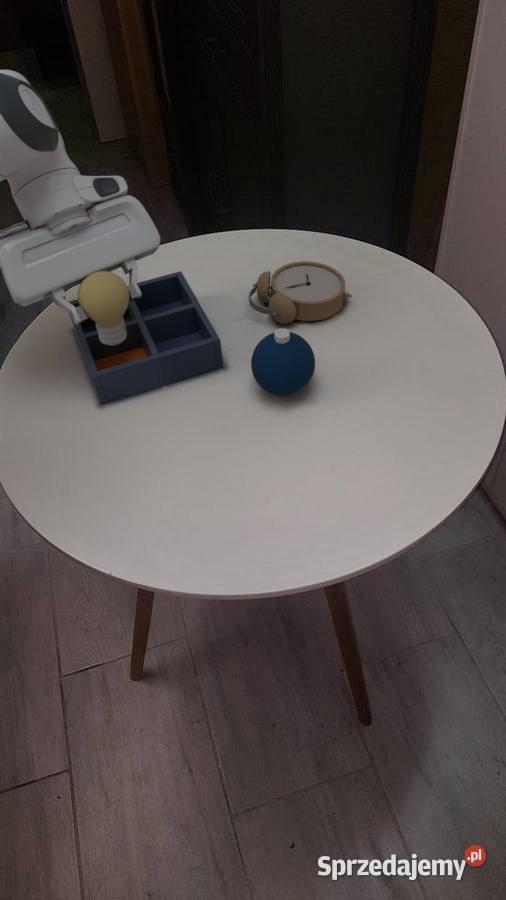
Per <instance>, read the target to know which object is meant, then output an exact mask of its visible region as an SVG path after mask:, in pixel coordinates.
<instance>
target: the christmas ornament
mask: <svg viewBox="0 0 506 900" xmlns="http://www.w3.org/2000/svg"><path fill="white" fill-rule="evenodd" d="M250 368H251V373H252V376H253V378H254V380H255V382H256V383H257V385H259V387H260V388H261V389H262V390H264V391H266V392H267V393H269V394H272V395H274V396H282V397H286V396H291V395H294V394H297V393H299V392H301V391H302V390H303V389H305V388H306V387H307V386H308V384H309V383H310V381H311V380H312V378H313V376H314V373H315V368H316V358H315V353H314V351H313V348H312V346H311V345H310V343H309V342H308V341H307V340H306V339H305V338H303V337H302V336H301V335H300V334H298V333H295V332H292V331H290V330H289V329H287V328H283V327H281V328H277V329H275V331H274V332H271V333H269V334H267V335H266V336H264V337H263V338H262V339H261V340H259V341H258V343H257V344H256V345H255V347H254V348H253V351H252V355H251V359H250Z"/></svg>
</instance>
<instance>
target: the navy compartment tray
mask: <svg viewBox="0 0 506 900" xmlns="http://www.w3.org/2000/svg"><path fill="white" fill-rule="evenodd" d="M136 283H137V285H138V287H139V289H140V291H141V293H142V296H141V297H140V298H138V299H135V300H133V301H129V304H128V307H127V310H126V311H125V313H124V315H123V318H124V323H125V327H126V331H127V337H126V339H125V340H124V341H123V342H121V343H120V344H118V345H113V346H112V345H106V344H103V343H102V342H101V341H100V340H99V336H98V332H97V328H96V322H95V321H94V320H92V319H91V318H89V317H88V316H87V317H88V319H87V320H86V321H84V322H82V323H80V324H78V325H76V324H75V323H74V321H73V319H72V317H71V315H70V314H69V317H70V320H71V323H72V326H73V328H74V331H75V334H76V337H77V341H78V343H79V346H80V349H81V352H82V354H83V358H84V361H85V363H86V366H87V369H88V372H89V375H90V378H91V381H92V383H93V386H94V389H95V393H96V395H97V398H98V401H99V404H100V405H105V404H109V403H111V402H114V401H117V400H121V399H124V398H128V397H131V396H135V395H138V394H141V393H145V392H147V391H151V390H155V389H157V388H160V387H161V388H162V387H164V386H167V385H171V384H173V383H177V382H181V381H183V380H187V379H191V378H193V377H197V376H200V375H203V374H206V373H210V372H213V371H216V370H220V369H223V368H224V361H223V353H222V343H221V338H220V337H219V335H218V333H217V331H216V329H215V328H214V326H213V325H212V323H211V320H210V319H209V317H208V316H207V313H206V312H205V310H204V308H203V307H202V305H201V303H200V302H199V300H198V298H197V296H196V295H195V293H194V291H193V289H192V288H191V286H190V284H189V283H188V281H187V279H186V277H185V276H184V274H183V272H182V271H181V270H180V271H175V272H172V273H169V274H166V275H162V276H158V277H154V278H150V279H147V280H143V281H139V282H136ZM68 302H69V303H70V304H72V305H73V306H75V308H76V307H78V306H80V305H79V302H78V298H77V299H72V300H69V301H68Z"/></svg>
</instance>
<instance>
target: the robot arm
mask: <svg viewBox="0 0 506 900" xmlns="http://www.w3.org/2000/svg"><path fill="white" fill-rule="evenodd" d="M4 180H7V182H8V184H9V187H10V191H11V196H12V198H13V200H14V203H15V205H16V207H17V208H18V210H19V212H20V215H21V216H22V218H23V221H20V222H18V223H15V224H13V225H11V226H9V227H7V228H4V229H0V270H1V274H2V277H3V279H4V282H5V285H6V287H7V290H8V292H9V294H10V296H11V298H12V301H13V302H14V303H15V304H17V305H19V306H21V307H28V306H30V305H33V304H34V303H37V302H40V301H42V300H44V299H47V298H49V297H50V298H51V299H52V301H53V303H54V305H56V306H57V307H59V308H60V309H62V310H63V311H65V312H66V313H67V314H69V316H70V315H71V317H72V319H73V321H74V323H75V324H76V325H78V324H80V323H82V322H84V321H86V320H87V319H88V317H87V315H86V313H84V309H83V307H82V306H78V307H76V308H75V306H73V305H72V304H70V303H69V301H68V300H66V297H67V294H66V292H65V291H67V290H69V289H72V288H75V287H76V286H80V284H81V282H82V281H83V280H84V278H85V277H87V276H89V275H91V274H92V273H95V272H98V271H108V272H113V271H115V270H117V269H122V271H123V273H124V275H128V285H127V288H128V291H129V301H133V300H135V299H138V298H140V297H141V296H142V293H141V291H140V289H139V287H138V285H137V283H138V269H139V266H138V264H137V261H139V260H140V261H141V260H142V259H145V258H147V257H150V256H151V255H154V254H155V253H156V252H157V251H158V249H159V248H160V246H161V235H160V233H159V230H158V228H157V226H156V224H155V223H154V221H153V219H152V218H151V216H150V214H149V213H148V211H147V210H146V208H145V207H144V205H143V204H142V203H141V201H139V200H138V199H137V198H136V197H134V196H133V195H130V194H128V189H129V187H128V184H127V181H126V180H125V178H124V177H123V176H120V175H82V174H81V172H80V170H79V168H78V167H77V166H76V164H75V163H74V162H73V161H72V159H70V157H69V155H68V152H67V150H66V147H65V141H64V139H63V136H62V134H61V132H60V129H59V127H58V125H57V123H56V121H55V118H54V117H53V114H52V113H51V110H50V109H49V107H48V105H47V103H46V101H45V99H44V98H43V97H42V95H41V94H40V93H39V91H38V90H37V89H36V88H35V87H33V86H32V85H31V83H30V82H29V81H28V80H27V78H26V77H25V76H23V74H21V73H19V72H18V71H15V70H11V69H0V182H2V181H4ZM71 317H70V318H71Z"/></svg>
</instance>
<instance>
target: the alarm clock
mask: <svg viewBox="0 0 506 900" xmlns="http://www.w3.org/2000/svg"><path fill="white" fill-rule="evenodd" d="M345 290H346V280H345V278H344V276H343V275H342V273H340V272H339V271H338V270H337V269H336V268H334V267H331V266H330V265H328V264H324V263H320V262H316V261H306V260H305V261H303V260H302V261H295V262H290V263H287V264H284V265H282V266H280V267H278V268H277V269H276V270H275V271H274V272H273V274H272V275H271V271H270V270H267V271H263V272H262V273H261V274H260V275H259V277H258V278H257V281H256V282H255V283H253V284H252V288H251V289H250V290H249V293H248V304H249V305H250V307H251V308H252V309H253V310H254V311H256V312H258V313H261V314H265V315H269V316H271V318H272V319H273V320H274V321H276V322H277V323H280V324H283V325H284V324H287V325H288V324H290V323H292V322H293V321H294V320H298V321H306V322H313V321H321V320H326V319H328V318H331V317H333V316H335V315H336V314H337V313H338V312H340V310H341V309H342V307H343V305H344V298H352V296H353V294H352V293H349V292H345ZM255 293H256V294H257V297H258V299H259V301H261V302H263V303H265V304H268V307H264V306H262V305H259V304H257V303H256V301H254V300H253V298H252V296H253V295H254V294H255Z"/></svg>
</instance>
